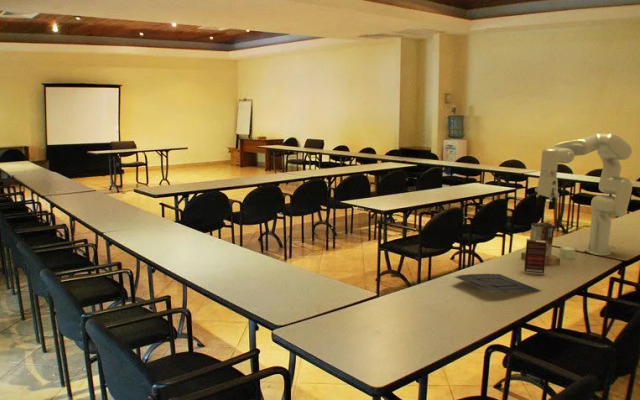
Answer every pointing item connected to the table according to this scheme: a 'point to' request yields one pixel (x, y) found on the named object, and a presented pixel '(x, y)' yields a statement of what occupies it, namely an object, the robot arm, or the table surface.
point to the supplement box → (535, 256)
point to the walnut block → (546, 259)
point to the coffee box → (543, 234)
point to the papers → (495, 283)
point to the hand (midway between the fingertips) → (545, 207)
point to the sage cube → (567, 253)
